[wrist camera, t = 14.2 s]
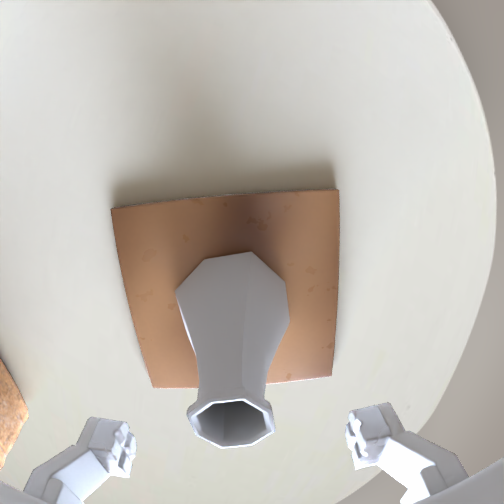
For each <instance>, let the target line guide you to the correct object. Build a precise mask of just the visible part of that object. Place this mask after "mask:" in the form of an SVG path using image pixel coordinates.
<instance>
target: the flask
mask: <svg viewBox="0 0 504 504" xmlns="http://www.w3.org/2000/svg"><path fill="white" fill-rule="evenodd" d="M175 294H176V298H177V301H178V305H179V308H180V312H181V315H182V319H183V322H184V325H185V329H186V332H187V335H188V337H189V340H190V342H191V345H192V347H193V349H194V352H195V355H196V358H197V367H198V375H199V389H198V397H197V401H196V402H195V403H193V404H192V405H191V406H189V408H188V410H187V417H188V419H189V421H190V424H191V426H192V428H193V430H194V432H195V434H196V436H198V437H200V438H202V439H204V440H206V441H208V442H210V443H212V444H213V445H215V446H217V447H219V448H231V447H241V446H251V445H254V444H255V443H257V442H259V441H260V440H262V439H264V438H265V437H267V436H269V435H270V434H272V433H273V432H275V423H274V418H273V413H272V407H271V405H270V403H269V402H268V401H266V400H265V399H264V393H265V387H266V380H267V373H268V370H269V367H270V365H271V363H272V360H273V358H274V356H275V353H276V351H277V348H278V346H279V344H280V342H281V340H282V338H283V336H284V334H285V332H286V330H287V328H288V325H289V323H290V317H289V309H288V301H287V293H286V285H285V281H283V280H282V279H281V278H280V277H279V276H278V275H277V274H276V273H275V272H274V271H273V270H271V269H270V268H269V267H268V266H267V265H266V264H265V263H264V262H263V261H262V260H261V259H259V258H258V257H257V256H256V255H255V254H254V253H253V252H246V253H239V254H233V255H227V256H221V257H215V258H209V259H204V260H203V261H202V262H201V263H200V264H199V265H198V266H197V268H196V269H195V270H194V271H193V272H192V273H191V274H190V275H189V276H188V277H187V278H186V279H185V280H184V281H183V283H182V284H181V285H180V286H179V287H178V288H177V289H176V290H175Z"/></svg>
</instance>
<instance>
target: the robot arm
mask: <svg viewBox="0 0 504 504" xmlns="http://www.w3.org/2000/svg"><path fill="white" fill-rule="evenodd" d="M348 419H349V421H350V422H349V423H348V424H347V425H346V430H345V435H346V441H347V445H348V447H349V448H351V449H352V450H353V451H352V455H351V457H352V460H353V462H354V465H355V468H356V469H358V468H362V467H367V466H371V465H375V464H377V465H378V466H379V467H380V468H382V469H383V470H384V471H386V472H387V473H388V474H390V475H391V476H392V477H394V478H395V479H396V480H398V481H399V482H400V483H402V484H403V485H404V486H406V487H407V488H408V490H407V492H406V493H405V495H404V496H403V497H402V499H401V500H400V503H401V504H504V457H503V458H501V459H499V460H498V461H496V462H495V463H493V464H492V465H490V466H488V467H486V468H485V469H483V470H481V471H480V472H478V473H476V474H474V475H473V476H471V477H469V476H468V474H467V473H466V471H465V469H464V467H463V466H462V464H461V462H460V461H459V459H458V457H457V456H456V454H455V453H453V452H450V451H448V450H446V449H444V448H442V447H440V446H438V445H436V444H434V443H432V442H430V441H428V440H426V439H424V438H422V437H420V436H419V435H417V434H415V433H413V432H411V431H405V429H404V427H403V425H402V424H401V422H400V420H399V418H398V416H397V414H396V413H395V411H394V409H393V407H392V405H391V404H390V403H389V402H387V403H383V404H378V405H373V406H369V407H365V408H361V409H356V410H351V411H350V412H349V415H348ZM129 428H130V427H129V426H128V424H127V422H123V421H116V420H109V419H103V418H97V417H90V418H89V419H88V420H87V422H86V424H85V426H84V428H83V430H82V433H81V435H80V437H79V439H78V441H77V443H76V445H71V446H70V447H68V448H67V449H65V450H64V451H62V452H61V453H59V454H58V455H56V456H54V457H53V458H51V459H50V460H48V461H46V462H45V463H43V464H42V465H40V466H38V467H37V468H35V469H33V471H32V473H31V475H30V478H29V480H28V482H27V484H26V486H25V488H24V490H23V492H22V491H20V490H18V489H16V488H14V487H12V486H10V485H8V484H6V483H4V482H2V481H0V504H84V503H83V502H82V501H83V500H84V499H85V498H87V497H88V496H89V495H90V494H91V493H92V492H93V491H94V490H95V489H96V488H97V487H98V486H99V485H101V484H102V483H103V482H104V481H105V480H106V479H107V478H108V477H109V476H110V475H114V476H121V477H128V478H129V476H130V472H131V469H132V463H131V461H130V460H131V459H132V458H133V457H135V454H136V450H137V443H136V439H135V437H134V435H133V434H132V433H130V432H129Z"/></svg>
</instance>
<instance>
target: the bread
mask: <svg viewBox="0 0 504 504" xmlns="http://www.w3.org/2000/svg"><path fill="white" fill-rule="evenodd" d="M27 419H28V409H27V406H26V404H25V401H24V399H23V397H22V395H21V393H20V391H19V389H18V387H17V386H16V384H15V382H14V380H13V378H12V377H11V375H10V373H9V372H8V370H7V368H6V367H5V365H4V364H3V362H2V361H1V359H0V470H1V469H2V468H3V466H4V462H5V458H6V455H7V454H8V453H9V451H10V450H11V448H12V446H13V445H14V443H15V441H16V439H17V437H18V435H19V433H20V430H21V428H22V425H23V424H24V422H25V421H26V420H27Z"/></svg>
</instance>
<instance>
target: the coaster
mask: <svg viewBox="0 0 504 504" xmlns="http://www.w3.org/2000/svg"><path fill="white" fill-rule="evenodd" d="M111 216H112V223H113V229H114V235H115V241H116V247H117V252H118V257H119V263H120V268H121V272H122V277H123V282H124V286H125V291H126V295H127V299H128V304H129V308H130V312H131V316H132V320H133V323H134V327H135V331H136V334H137V338H138V342H139V345H140V348H141V352H142V355H143V359H144V362H145V365H146V368H147V371H148V374H149V377H150V380H151V383H152V386H153V388H199V375H198V367H197V358H196V355H195V352H194V349H193V347H192V345H191V342H190V340H189V337H188V335H187V332H186V329H185V325H184V322H183V319H182V315H181V312H180V308H179V305H178V301H177V298H176V294H175V290H176V289H177V288H178V287H179V286H180V285H181V284H182V283H183V281H184V280H185V279H186V278H187V277H188V276H189V275H190V274H191V273H192V272H193V271H194V270H195V269H196V268H197V266H198V265H199V264H200V263H201V262H202V261H203V260H204V259H209V258H215V257H221V256H227V255H233V254H239V253H246V252H253V253H254V254H255V255H256V256H257V257H258V258H259V259H261V260H262V261H263V262H264V263H265V264H266V265H267V266H268V267H269V268H270V269H271V270H273V271H274V272H275V273H276V274H277V275H278V276H279V277H280V278H281V279H282V280H283V281H285V285H286V293H287V301H288V309H289V317H290V323H289V325H288V328H287V330H286V332H285V334H284V336H283V338H282V340H281V342H280V344H279V346H278V348H277V351H276V353H275V356H274V358H273V360H272V363H271V365H270V367H269V370H268V373H267V380H266V384H275V383H284V382H293V381H301V380H308V379H315V378H322V377H329V376H332V367H333V356H334V345H335V333H336V318H337V301H338V280H339V236H340V213H339V190H338V189H313V190H292V191H274V192H259V193H244V194H232V195H220V196H208V197H198V198H188V199H178V200H169V201H160V202H151V203H143V204H135V205H128V206H120V207H114V208H111Z"/></svg>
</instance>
